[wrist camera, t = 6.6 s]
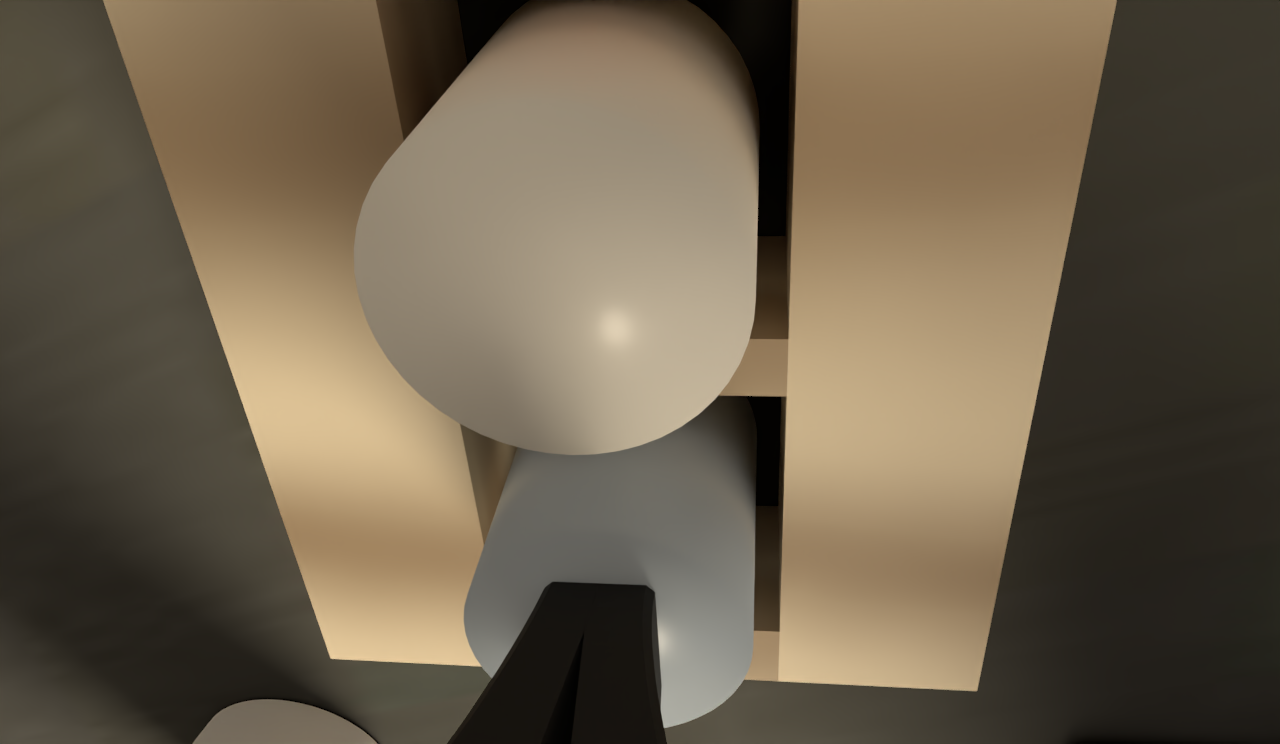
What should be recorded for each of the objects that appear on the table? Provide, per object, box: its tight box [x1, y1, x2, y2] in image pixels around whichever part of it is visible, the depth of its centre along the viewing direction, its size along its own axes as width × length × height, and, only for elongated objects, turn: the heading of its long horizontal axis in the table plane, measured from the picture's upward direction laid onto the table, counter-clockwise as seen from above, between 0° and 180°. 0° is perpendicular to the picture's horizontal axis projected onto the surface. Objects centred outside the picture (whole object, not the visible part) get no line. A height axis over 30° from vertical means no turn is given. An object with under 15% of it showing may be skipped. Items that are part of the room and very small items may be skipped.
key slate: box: [464, 395, 757, 728], centre depth 15 cm, size 4×4×4 cm
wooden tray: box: [103, 0, 1117, 691], centre depth 13 cm, size 18×11×3 cm, turn 3°
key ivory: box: [354, 0, 760, 455], centre depth 11 cm, size 4×4×4 cm
